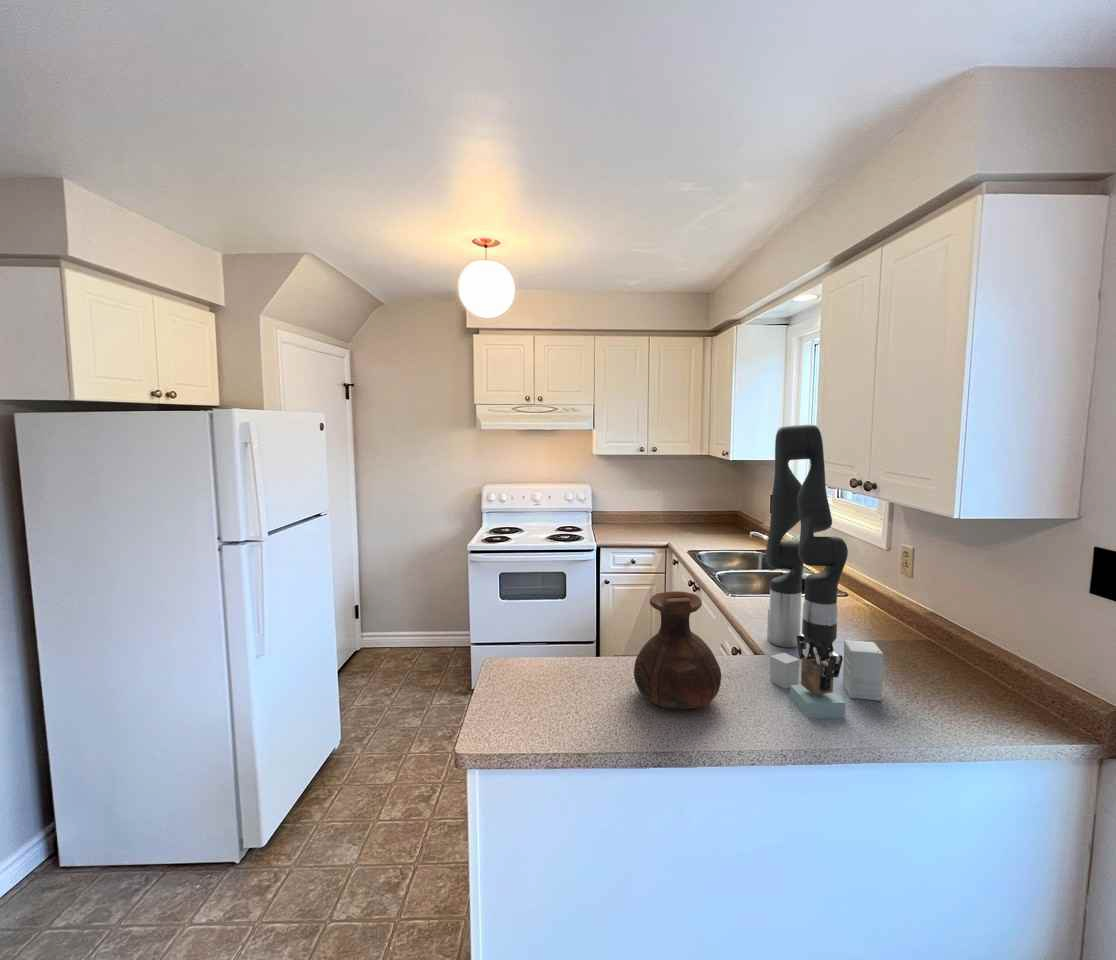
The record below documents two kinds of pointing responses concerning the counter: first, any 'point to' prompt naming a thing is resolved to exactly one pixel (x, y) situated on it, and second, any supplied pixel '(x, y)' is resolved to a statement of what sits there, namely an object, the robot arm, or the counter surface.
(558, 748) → the counter surface
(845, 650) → the supplement box
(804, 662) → the walnut block
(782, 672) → the grey block
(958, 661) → the counter surface
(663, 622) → the brown vase
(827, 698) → the pedestal block
